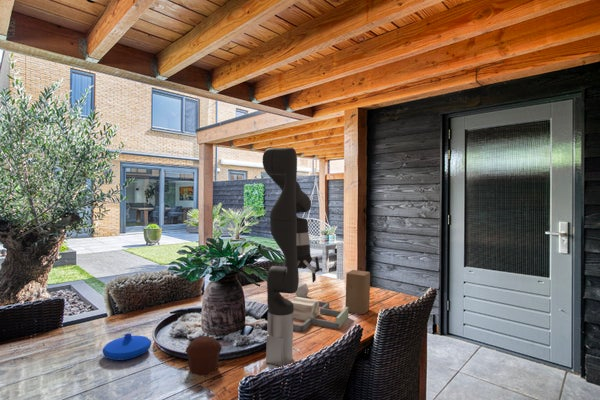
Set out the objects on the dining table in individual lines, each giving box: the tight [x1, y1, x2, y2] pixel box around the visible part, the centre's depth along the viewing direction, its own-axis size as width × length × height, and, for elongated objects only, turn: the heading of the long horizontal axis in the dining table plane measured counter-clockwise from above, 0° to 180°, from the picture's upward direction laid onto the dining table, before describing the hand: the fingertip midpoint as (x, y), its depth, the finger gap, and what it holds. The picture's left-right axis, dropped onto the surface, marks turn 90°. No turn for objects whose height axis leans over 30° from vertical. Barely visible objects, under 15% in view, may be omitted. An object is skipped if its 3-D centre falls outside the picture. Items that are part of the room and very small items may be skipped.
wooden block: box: [344, 269, 371, 315], centre depth 173 cm, size 10×10×20 cm
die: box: [294, 282, 310, 298], centre depth 194 cm, size 8×9×10 cm
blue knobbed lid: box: [102, 333, 152, 361], centre depth 120 cm, size 16×16×7 cm
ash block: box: [290, 296, 320, 321], centre depth 163 cm, size 10×12×8 cm
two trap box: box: [293, 300, 349, 333], centre depth 161 cm, size 36×26×5 cm
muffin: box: [185, 335, 223, 376], centre depth 112 cm, size 12×11×10 cm
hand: (303, 282), depth 139 cm, fingers open, 8 cm apart
